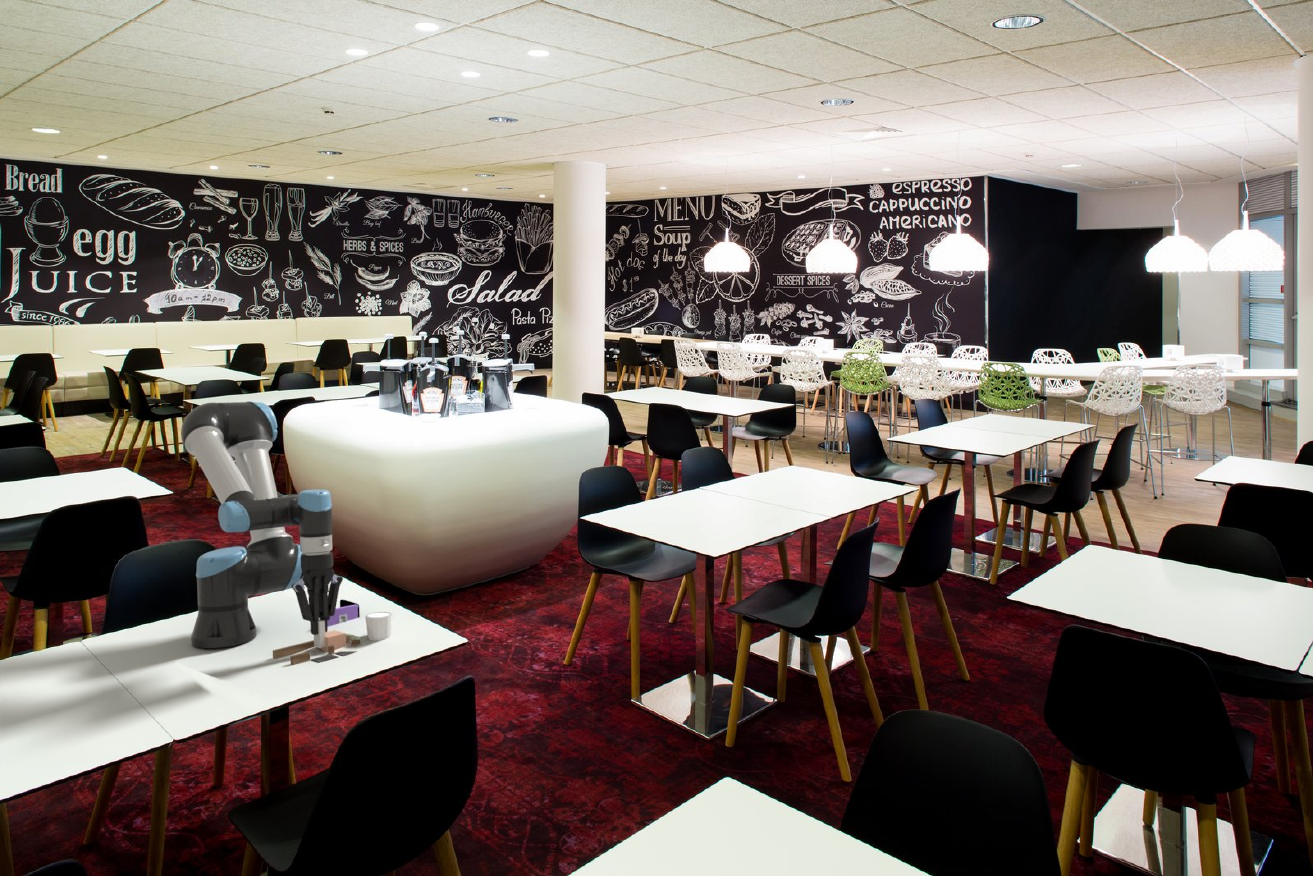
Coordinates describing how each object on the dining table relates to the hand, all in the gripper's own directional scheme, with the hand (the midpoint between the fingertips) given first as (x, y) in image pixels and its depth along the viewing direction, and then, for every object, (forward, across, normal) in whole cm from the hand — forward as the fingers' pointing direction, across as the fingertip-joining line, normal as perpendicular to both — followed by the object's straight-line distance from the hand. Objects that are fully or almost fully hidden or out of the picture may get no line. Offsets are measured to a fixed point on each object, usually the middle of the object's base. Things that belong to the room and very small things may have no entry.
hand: (319, 646), depth 226 cm
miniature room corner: (+2, +15, +18) cm, 23 cm away
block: (+2, +3, 0) cm, 4 cm away
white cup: (+2, +15, -4) cm, 15 cm away
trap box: (+1, +1, 0) cm, 2 cm away
